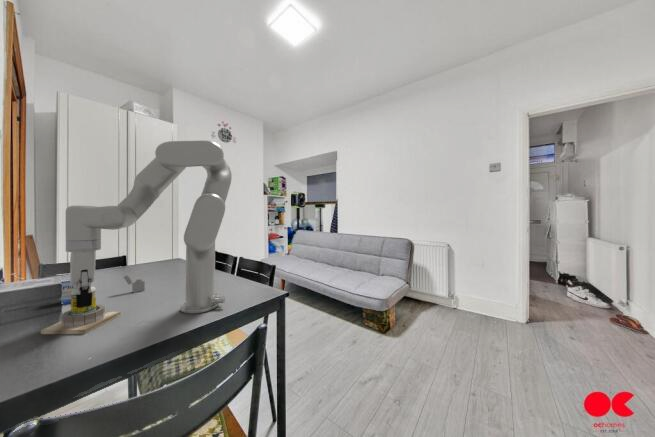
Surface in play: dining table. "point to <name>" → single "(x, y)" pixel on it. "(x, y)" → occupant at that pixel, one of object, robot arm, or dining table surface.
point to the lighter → (136, 284)
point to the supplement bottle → (82, 310)
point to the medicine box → (66, 291)
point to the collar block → (81, 322)
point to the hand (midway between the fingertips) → (83, 303)
